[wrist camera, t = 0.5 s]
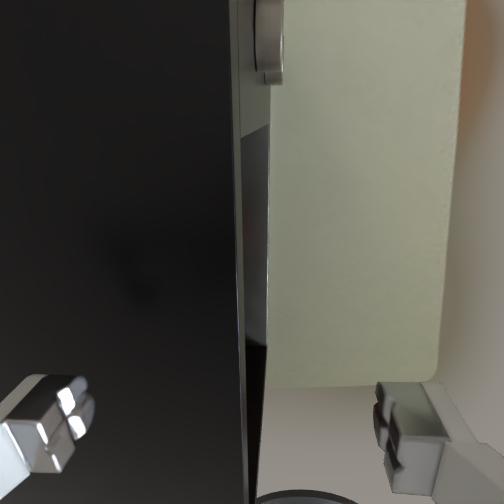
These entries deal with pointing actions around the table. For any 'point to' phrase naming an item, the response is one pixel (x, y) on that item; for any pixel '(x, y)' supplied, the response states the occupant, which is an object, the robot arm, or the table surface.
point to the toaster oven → (140, 236)
